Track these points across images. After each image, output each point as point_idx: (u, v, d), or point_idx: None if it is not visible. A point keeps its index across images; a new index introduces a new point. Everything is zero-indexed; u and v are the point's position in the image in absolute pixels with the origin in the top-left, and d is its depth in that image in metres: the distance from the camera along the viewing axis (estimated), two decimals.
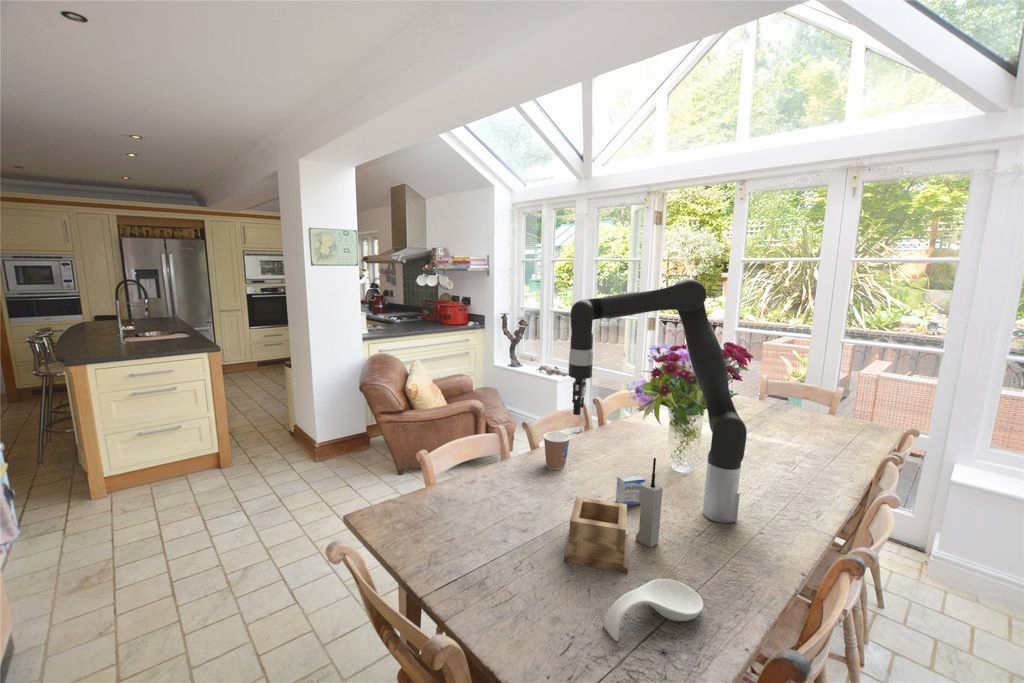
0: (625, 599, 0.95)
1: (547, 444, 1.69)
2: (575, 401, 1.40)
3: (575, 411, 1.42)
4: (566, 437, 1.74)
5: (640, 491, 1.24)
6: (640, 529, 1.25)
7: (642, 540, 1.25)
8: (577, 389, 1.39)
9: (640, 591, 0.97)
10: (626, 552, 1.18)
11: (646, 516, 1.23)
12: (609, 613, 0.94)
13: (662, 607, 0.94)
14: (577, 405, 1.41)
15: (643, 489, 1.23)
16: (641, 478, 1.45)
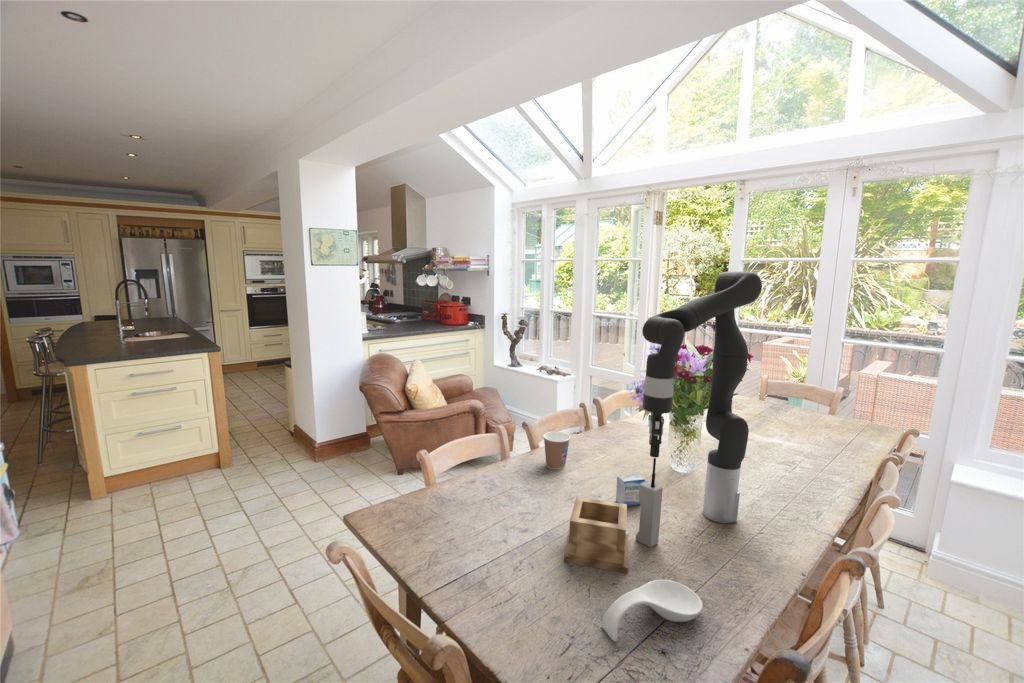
0: (624, 599, 0.94)
1: (547, 444, 1.69)
2: (654, 441, 1.14)
3: (653, 453, 1.16)
4: (566, 437, 1.74)
5: (640, 491, 1.24)
6: (640, 529, 1.25)
7: (642, 540, 1.25)
8: (657, 427, 1.14)
9: (639, 592, 0.97)
10: (626, 552, 1.18)
11: (646, 516, 1.23)
12: (607, 614, 0.94)
13: (661, 608, 0.94)
14: (656, 446, 1.16)
15: (643, 489, 1.23)
16: (641, 478, 1.45)
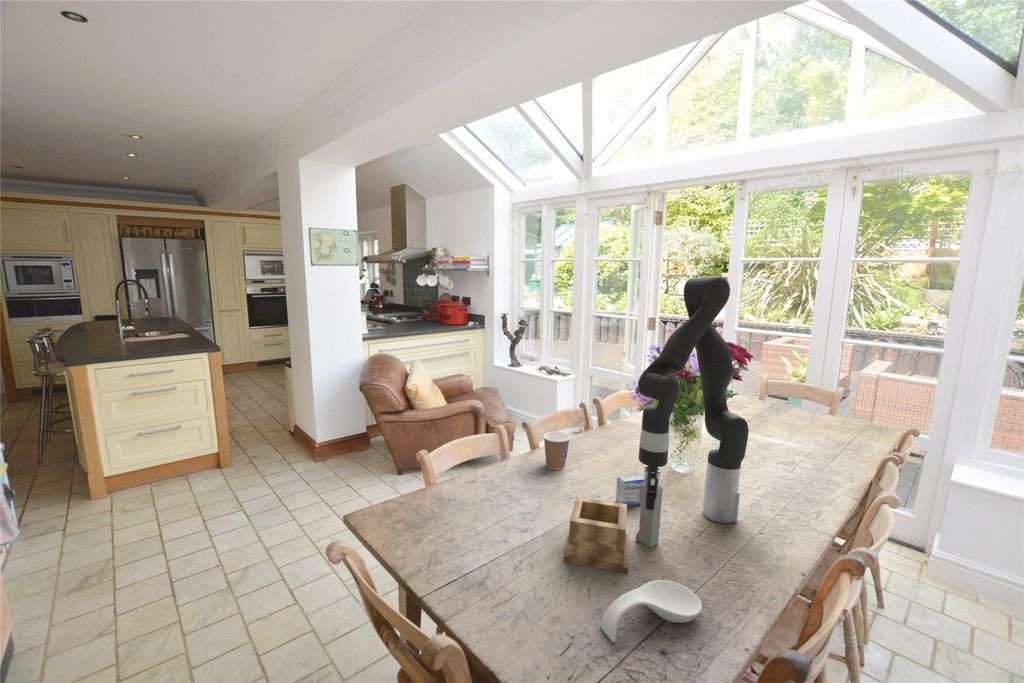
0: (622, 600, 0.94)
1: (547, 444, 1.69)
2: (650, 496, 1.18)
3: (648, 506, 1.20)
4: (566, 437, 1.74)
5: (640, 491, 1.24)
6: (640, 529, 1.25)
7: (642, 540, 1.25)
8: (653, 484, 1.16)
9: (638, 592, 0.97)
10: (626, 552, 1.18)
11: (646, 516, 1.23)
12: (606, 614, 0.94)
13: (660, 608, 0.94)
14: (651, 499, 1.19)
15: (643, 489, 1.23)
16: (641, 478, 1.45)
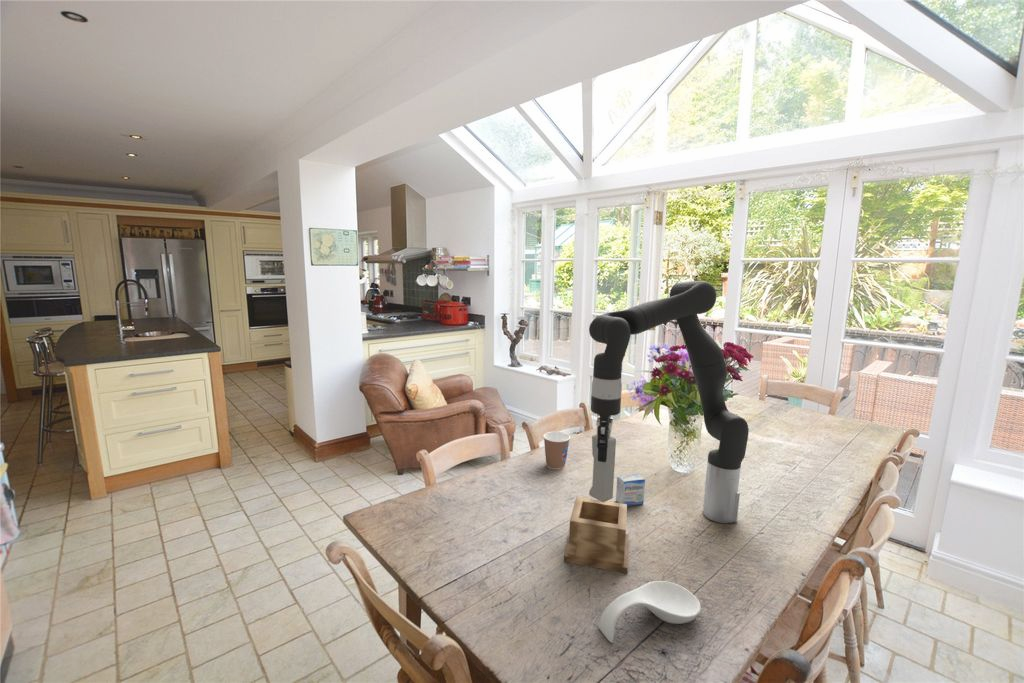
0: (621, 600, 0.94)
1: (547, 444, 1.69)
2: (601, 446, 1.11)
3: (600, 457, 1.13)
4: (566, 437, 1.74)
5: (593, 443, 1.17)
6: (593, 484, 1.18)
7: (595, 495, 1.18)
8: (603, 433, 1.10)
9: (636, 593, 0.97)
10: (626, 552, 1.18)
11: (599, 469, 1.16)
12: (604, 615, 0.94)
13: (658, 609, 0.93)
14: (603, 450, 1.13)
15: (596, 441, 1.16)
16: (641, 478, 1.45)
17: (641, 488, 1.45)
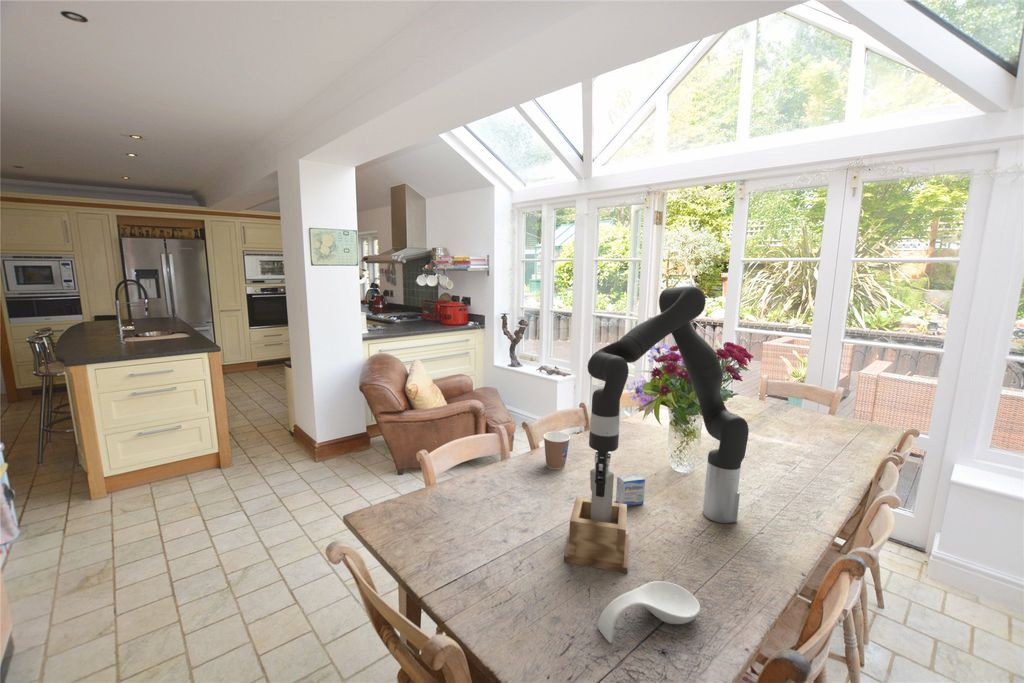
0: (620, 601, 0.94)
1: (547, 444, 1.69)
2: (599, 482, 1.13)
3: (598, 492, 1.15)
4: (566, 437, 1.74)
5: (591, 477, 1.19)
6: (591, 517, 1.20)
7: None
8: (601, 469, 1.11)
9: (636, 593, 0.97)
10: (626, 552, 1.18)
11: (597, 503, 1.18)
12: (603, 615, 0.94)
13: (657, 609, 0.93)
14: (601, 485, 1.14)
15: (594, 475, 1.18)
16: (641, 478, 1.45)
17: (641, 488, 1.45)
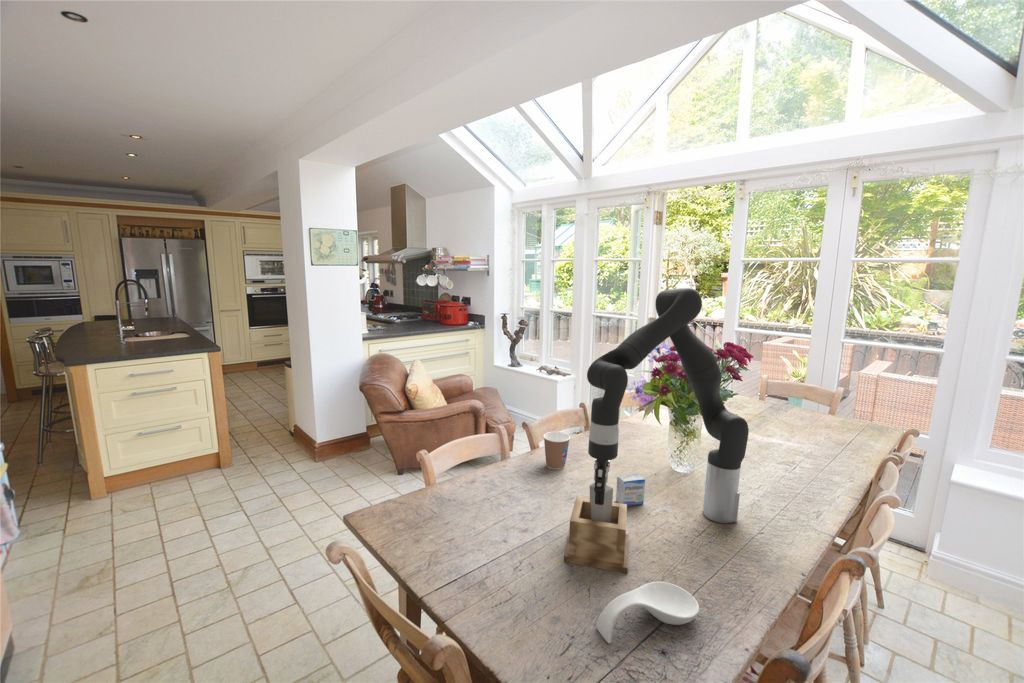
0: (619, 601, 0.94)
1: (547, 444, 1.69)
2: (598, 490, 1.12)
3: (597, 500, 1.14)
4: (566, 437, 1.74)
5: (590, 492, 1.19)
6: None
7: None
8: (600, 475, 1.11)
9: (635, 594, 0.97)
10: (626, 552, 1.18)
11: (597, 518, 1.19)
12: (602, 615, 0.94)
13: (656, 610, 0.93)
14: (600, 493, 1.13)
15: (593, 490, 1.18)
16: (641, 478, 1.45)
17: (641, 488, 1.45)
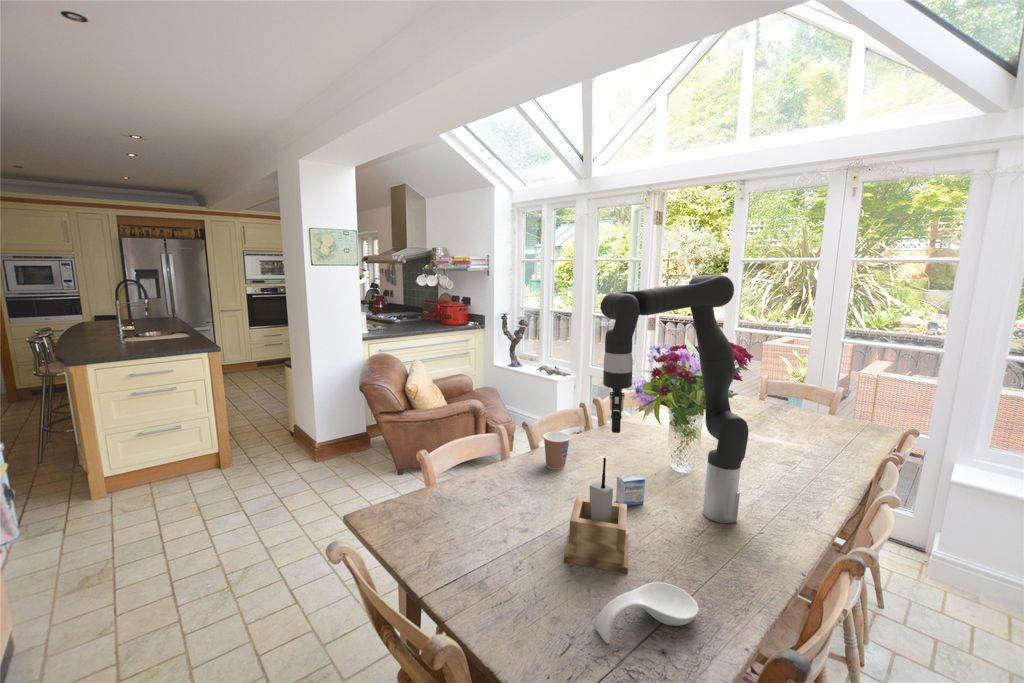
0: (617, 601, 0.94)
1: (547, 444, 1.69)
2: (615, 417, 1.14)
3: (614, 428, 1.17)
4: (566, 437, 1.74)
5: (590, 492, 1.19)
6: None
7: None
8: (617, 402, 1.14)
9: (633, 594, 0.96)
10: (626, 552, 1.18)
11: (596, 518, 1.19)
12: (601, 616, 0.93)
13: (655, 611, 0.93)
14: (616, 421, 1.16)
15: (593, 490, 1.18)
16: (641, 478, 1.45)
17: (641, 488, 1.45)
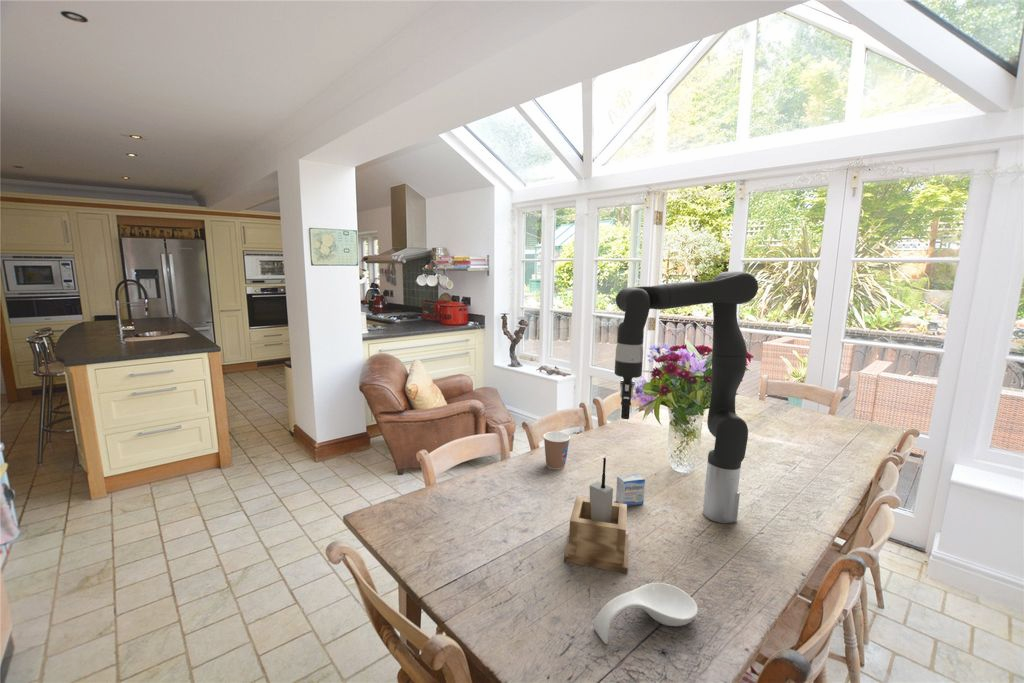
0: (616, 602, 0.94)
1: (547, 444, 1.69)
2: (624, 403, 1.22)
3: (623, 415, 1.24)
4: (566, 437, 1.74)
5: (590, 492, 1.19)
6: None
7: None
8: (627, 389, 1.21)
9: (633, 595, 0.96)
10: (626, 552, 1.18)
11: (596, 518, 1.19)
12: (599, 616, 0.93)
13: (654, 611, 0.93)
14: (626, 408, 1.24)
15: (593, 490, 1.18)
16: (641, 478, 1.45)
17: (641, 488, 1.45)
